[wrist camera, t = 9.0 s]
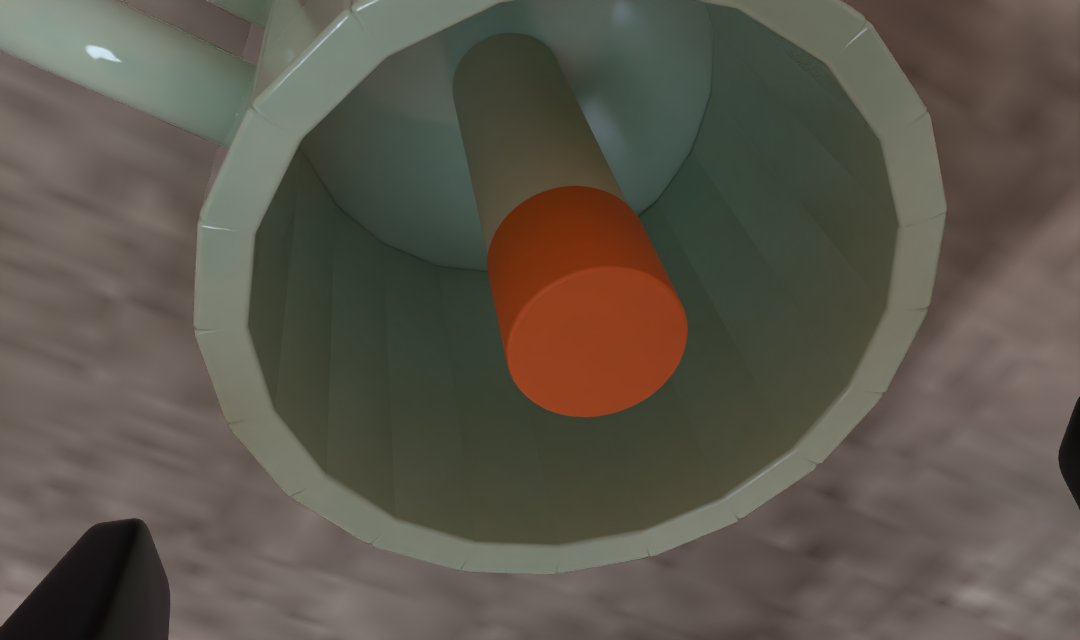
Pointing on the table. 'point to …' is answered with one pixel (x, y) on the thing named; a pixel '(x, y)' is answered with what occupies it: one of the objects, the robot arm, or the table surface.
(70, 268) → the table surface
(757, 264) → the green handled mug
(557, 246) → the marker
